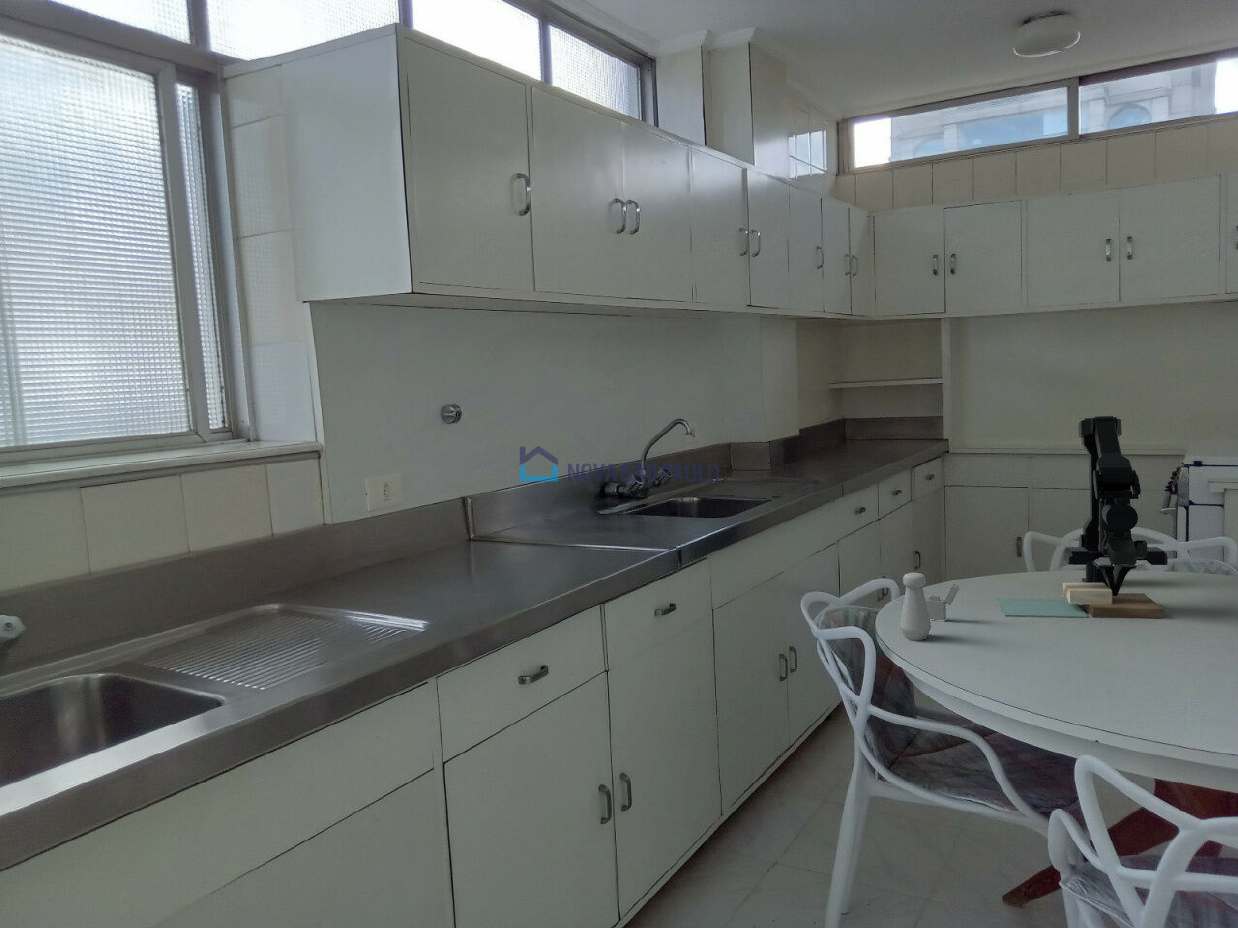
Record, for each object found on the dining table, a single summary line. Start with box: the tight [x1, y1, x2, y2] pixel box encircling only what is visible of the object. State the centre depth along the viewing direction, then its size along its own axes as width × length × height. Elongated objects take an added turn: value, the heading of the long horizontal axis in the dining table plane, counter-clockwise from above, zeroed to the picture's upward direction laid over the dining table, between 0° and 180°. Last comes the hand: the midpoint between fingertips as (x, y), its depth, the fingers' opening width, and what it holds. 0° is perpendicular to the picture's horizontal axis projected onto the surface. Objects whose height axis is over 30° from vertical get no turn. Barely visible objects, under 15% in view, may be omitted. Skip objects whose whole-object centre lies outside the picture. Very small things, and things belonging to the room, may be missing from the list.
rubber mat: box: [995, 597, 1089, 619], centre depth 195 cm, size 14×16×1 cm
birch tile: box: [1062, 582, 1112, 605], centre depth 192 cm, size 7×8×3 cm
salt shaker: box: [900, 572, 932, 641], centre depth 178 cm, size 6×6×13 cm
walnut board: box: [1080, 592, 1164, 620], centre depth 191 cm, size 13×13×2 cm
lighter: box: [925, 583, 961, 620], centre depth 189 cm, size 7×2×8 cm, turn 57°
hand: (1114, 595), depth 191 cm, fingers closed
